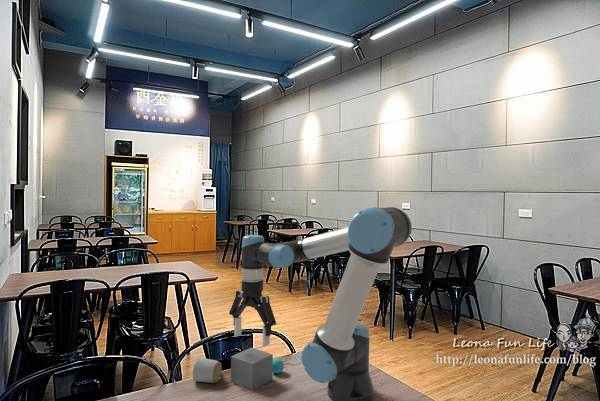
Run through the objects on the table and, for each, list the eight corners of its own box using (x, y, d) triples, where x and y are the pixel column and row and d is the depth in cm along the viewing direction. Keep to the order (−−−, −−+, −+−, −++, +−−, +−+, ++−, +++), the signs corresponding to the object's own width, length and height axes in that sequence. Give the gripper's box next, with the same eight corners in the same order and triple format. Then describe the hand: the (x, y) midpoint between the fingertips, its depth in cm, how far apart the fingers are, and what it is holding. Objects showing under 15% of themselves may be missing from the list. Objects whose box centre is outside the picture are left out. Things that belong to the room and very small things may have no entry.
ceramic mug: (214, 387, 134) (215, 364, 134) (191, 384, 135) (192, 362, 135) (226, 373, 144) (226, 352, 144) (204, 371, 146) (205, 351, 146)
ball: (286, 372, 146) (286, 358, 146) (277, 377, 142) (277, 363, 142) (276, 368, 149) (276, 355, 149) (267, 373, 145) (267, 359, 145)
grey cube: (272, 379, 140) (272, 354, 140) (252, 390, 132) (252, 364, 132) (251, 371, 146) (251, 347, 146) (230, 381, 138) (231, 356, 138)
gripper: (287, 283, 134) (286, 345, 135) (235, 273, 149) (234, 329, 150) (272, 287, 128) (271, 352, 129) (219, 276, 143) (219, 334, 144)
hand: (251, 340), depth 139 cm, fingers open, 13 cm apart
